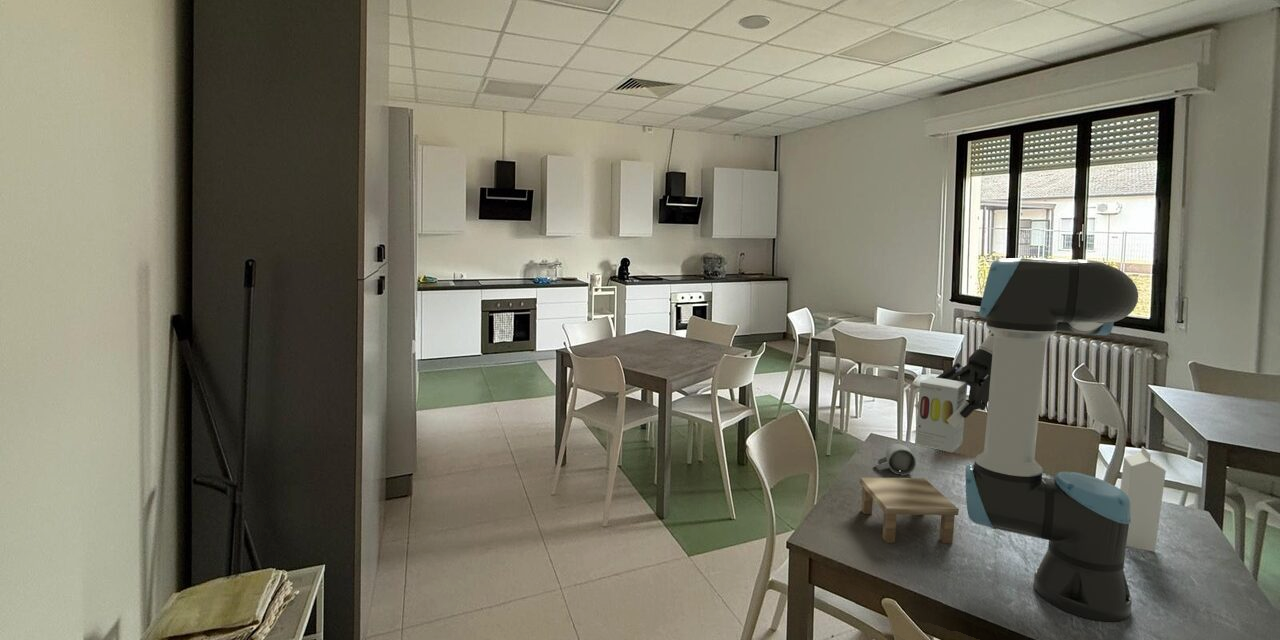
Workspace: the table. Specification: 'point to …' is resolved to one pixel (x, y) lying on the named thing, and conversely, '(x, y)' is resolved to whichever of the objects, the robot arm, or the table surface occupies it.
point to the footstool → (907, 503)
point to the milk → (1143, 498)
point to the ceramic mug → (897, 460)
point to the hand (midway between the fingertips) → (933, 416)
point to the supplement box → (939, 413)
